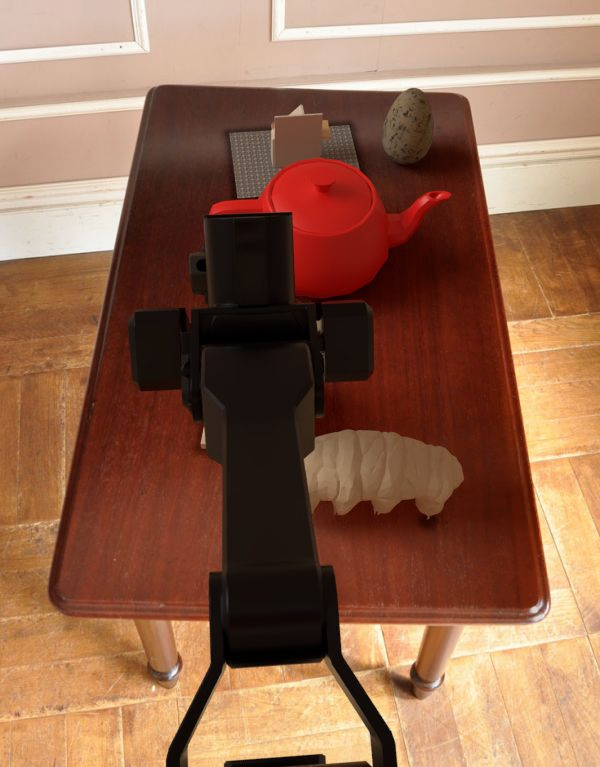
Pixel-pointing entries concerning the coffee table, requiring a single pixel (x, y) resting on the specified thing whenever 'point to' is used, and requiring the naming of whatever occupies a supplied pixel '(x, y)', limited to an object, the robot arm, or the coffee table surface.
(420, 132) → the decorative egg
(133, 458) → the coffee table surface
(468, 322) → the coffee table surface
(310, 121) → the napkin holder
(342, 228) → the teapot
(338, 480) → the model
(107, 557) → the coffee table surface
